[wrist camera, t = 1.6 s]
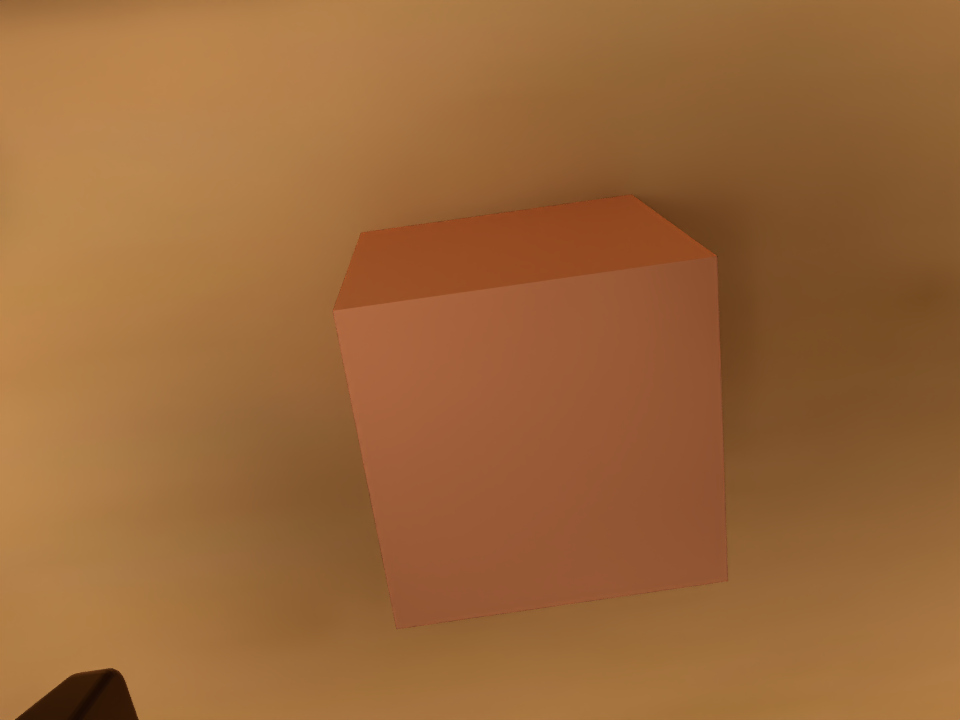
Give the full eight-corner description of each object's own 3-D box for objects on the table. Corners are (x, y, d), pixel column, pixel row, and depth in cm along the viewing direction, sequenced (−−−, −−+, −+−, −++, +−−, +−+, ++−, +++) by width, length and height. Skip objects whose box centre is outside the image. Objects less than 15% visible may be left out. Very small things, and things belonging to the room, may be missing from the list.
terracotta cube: (647, 437, 17) (728, 580, 13) (405, 472, 17) (396, 629, 13) (630, 193, 16) (717, 256, 11) (361, 231, 16) (332, 310, 11)
